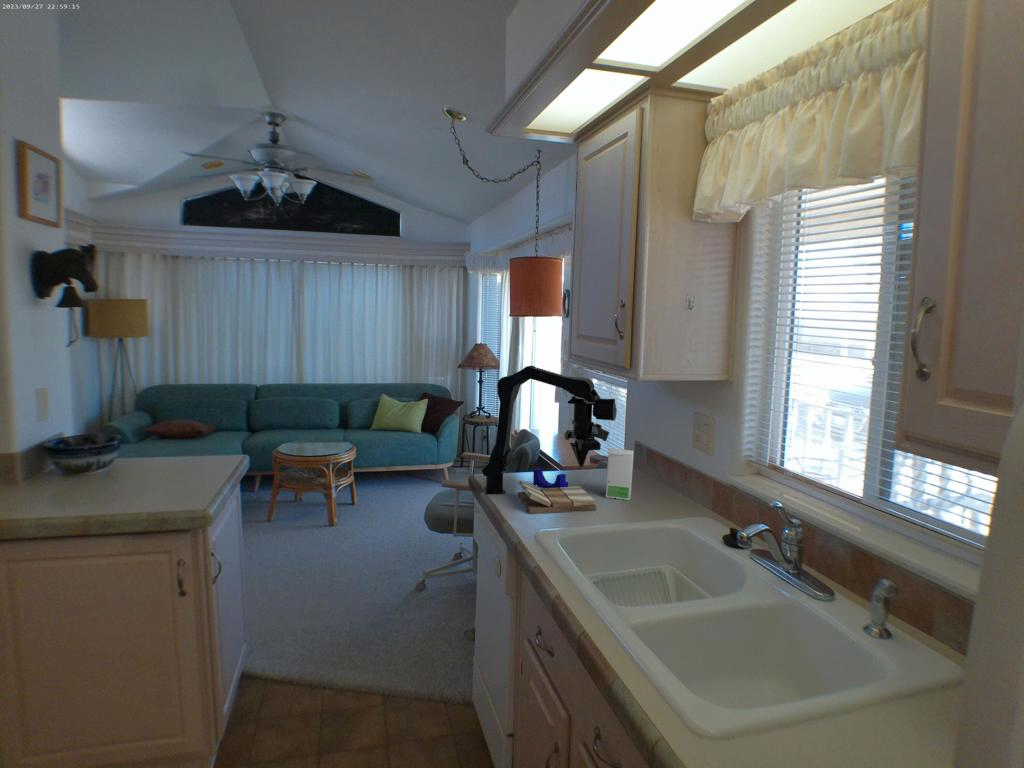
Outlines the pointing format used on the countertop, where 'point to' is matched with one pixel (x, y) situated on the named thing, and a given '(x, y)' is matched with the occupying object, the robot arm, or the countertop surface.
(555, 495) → the mating strip
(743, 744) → the countertop surface
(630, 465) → the skincare box
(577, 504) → the plank far
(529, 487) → the plank near
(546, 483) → the cable clip
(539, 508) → the board
